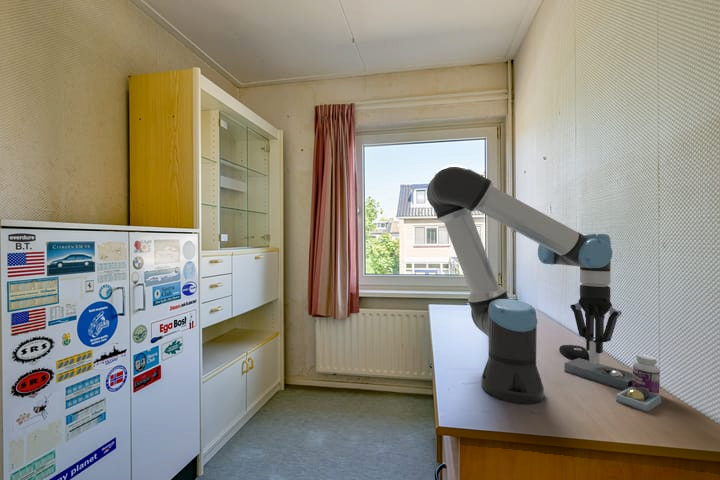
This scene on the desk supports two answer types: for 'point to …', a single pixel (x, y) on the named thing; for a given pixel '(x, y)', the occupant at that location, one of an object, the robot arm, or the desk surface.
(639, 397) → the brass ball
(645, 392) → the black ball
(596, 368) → the block
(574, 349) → the computer mouse
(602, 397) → the desk surface
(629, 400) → the parts tray
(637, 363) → the pill bottle
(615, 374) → the steel ball
